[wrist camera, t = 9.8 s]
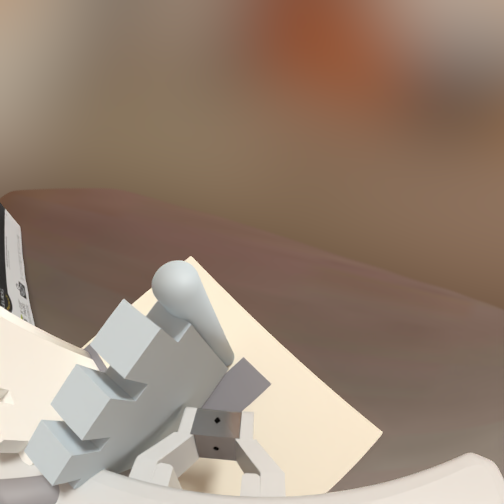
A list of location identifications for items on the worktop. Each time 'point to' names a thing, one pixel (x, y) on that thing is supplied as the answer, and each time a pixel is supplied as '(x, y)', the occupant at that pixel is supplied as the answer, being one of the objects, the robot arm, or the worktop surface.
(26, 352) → the white fence panel
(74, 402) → the blue-grey fence panel
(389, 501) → the robot arm
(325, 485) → the card
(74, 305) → the worktop surface
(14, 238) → the tea box
